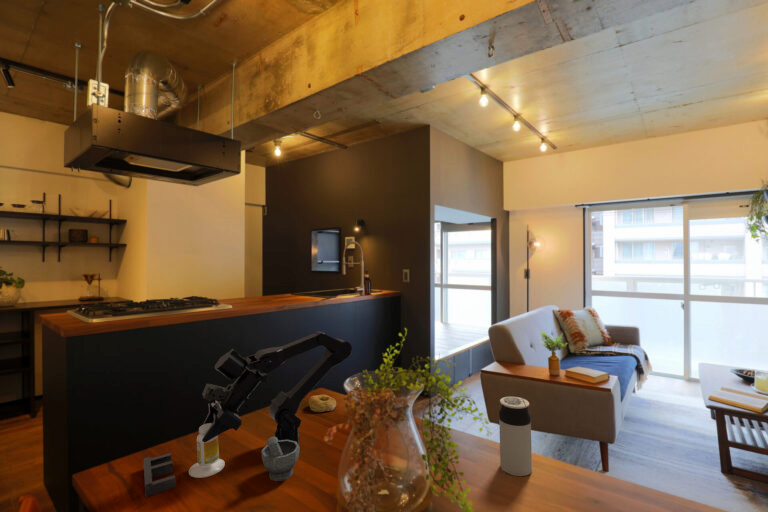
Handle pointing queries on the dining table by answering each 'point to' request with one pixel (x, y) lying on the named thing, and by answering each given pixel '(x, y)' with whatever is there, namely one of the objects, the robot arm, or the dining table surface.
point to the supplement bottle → (207, 447)
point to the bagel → (322, 403)
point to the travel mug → (515, 436)
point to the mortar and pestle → (280, 458)
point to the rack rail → (158, 474)
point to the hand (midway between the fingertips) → (201, 437)
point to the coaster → (206, 469)
